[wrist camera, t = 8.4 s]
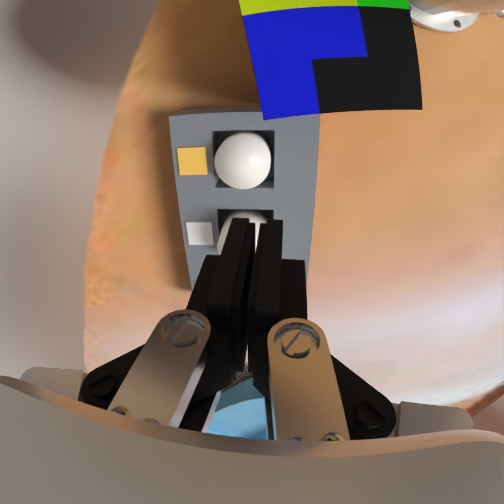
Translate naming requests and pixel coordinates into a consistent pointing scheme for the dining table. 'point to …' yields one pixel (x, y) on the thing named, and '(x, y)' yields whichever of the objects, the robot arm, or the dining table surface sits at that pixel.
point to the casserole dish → (240, 413)
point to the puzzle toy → (332, 56)
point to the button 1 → (243, 159)
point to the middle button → (252, 214)
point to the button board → (228, 198)
